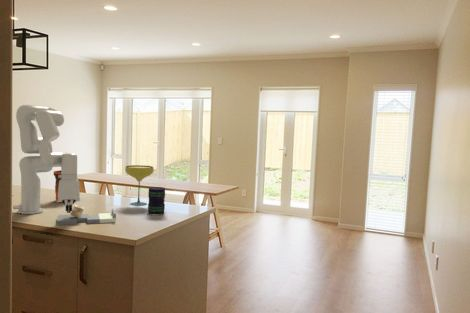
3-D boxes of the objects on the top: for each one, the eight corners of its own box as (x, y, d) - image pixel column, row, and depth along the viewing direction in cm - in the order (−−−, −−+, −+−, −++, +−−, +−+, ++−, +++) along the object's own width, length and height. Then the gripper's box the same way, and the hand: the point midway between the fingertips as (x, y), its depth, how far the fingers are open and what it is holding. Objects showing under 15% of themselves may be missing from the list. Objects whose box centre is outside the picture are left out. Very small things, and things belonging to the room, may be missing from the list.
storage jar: (144, 213, 223) (145, 188, 223) (153, 210, 233) (154, 186, 232) (158, 215, 220) (159, 189, 219) (167, 212, 229) (168, 187, 228)
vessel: (49, 199, 251) (50, 169, 250) (71, 198, 260) (72, 169, 259) (56, 203, 240) (57, 172, 239) (79, 202, 250) (80, 172, 249)
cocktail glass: (148, 201, 263) (149, 165, 261) (155, 206, 247) (156, 167, 245) (121, 202, 254) (123, 165, 253) (127, 207, 238) (128, 167, 237)
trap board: (57, 224, 188) (57, 216, 188) (58, 218, 201) (58, 210, 201) (115, 222, 199) (116, 213, 199) (113, 216, 212) (113, 208, 212)
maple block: (70, 215, 194) (74, 206, 194) (70, 213, 199) (74, 204, 199) (79, 218, 196) (83, 209, 196) (80, 216, 200) (84, 207, 201)
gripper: (52, 178, 188) (52, 214, 189) (84, 177, 194) (84, 213, 195) (53, 176, 195) (53, 211, 196) (84, 176, 201) (84, 210, 202)
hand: (68, 212), depth 196 cm, fingers closed
